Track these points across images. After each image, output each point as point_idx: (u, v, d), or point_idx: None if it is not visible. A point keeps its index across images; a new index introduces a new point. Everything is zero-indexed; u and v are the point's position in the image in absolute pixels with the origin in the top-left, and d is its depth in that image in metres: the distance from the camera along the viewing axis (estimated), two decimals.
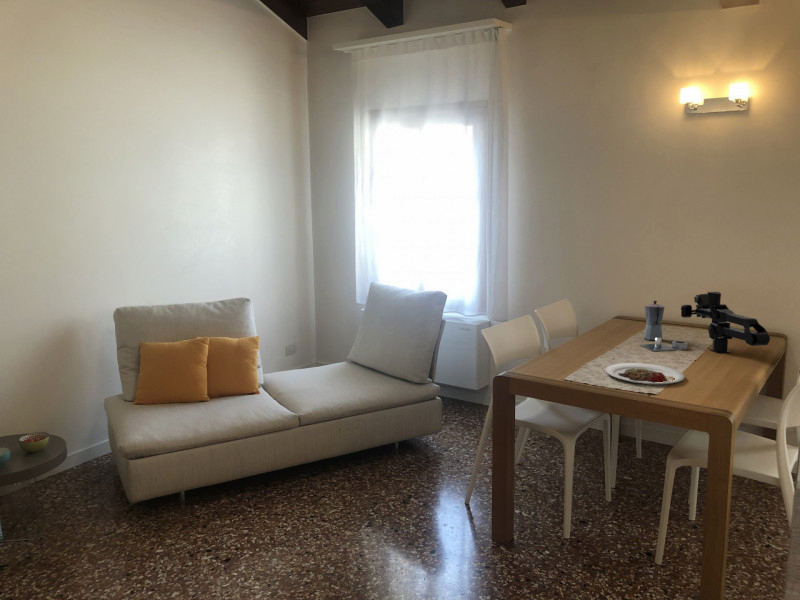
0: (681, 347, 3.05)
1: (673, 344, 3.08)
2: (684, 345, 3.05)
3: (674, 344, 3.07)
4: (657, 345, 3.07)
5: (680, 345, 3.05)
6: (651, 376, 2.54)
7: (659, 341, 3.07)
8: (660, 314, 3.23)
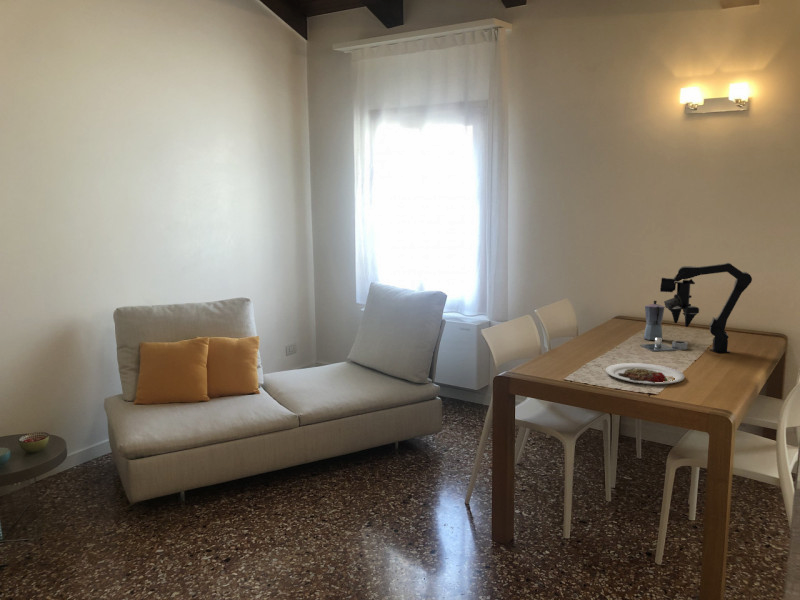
0: (681, 347, 3.05)
1: (673, 344, 3.08)
2: (684, 345, 3.05)
3: (674, 344, 3.07)
4: (657, 345, 3.07)
5: (680, 345, 3.05)
6: (651, 376, 2.54)
7: (659, 341, 3.07)
8: (660, 314, 3.23)
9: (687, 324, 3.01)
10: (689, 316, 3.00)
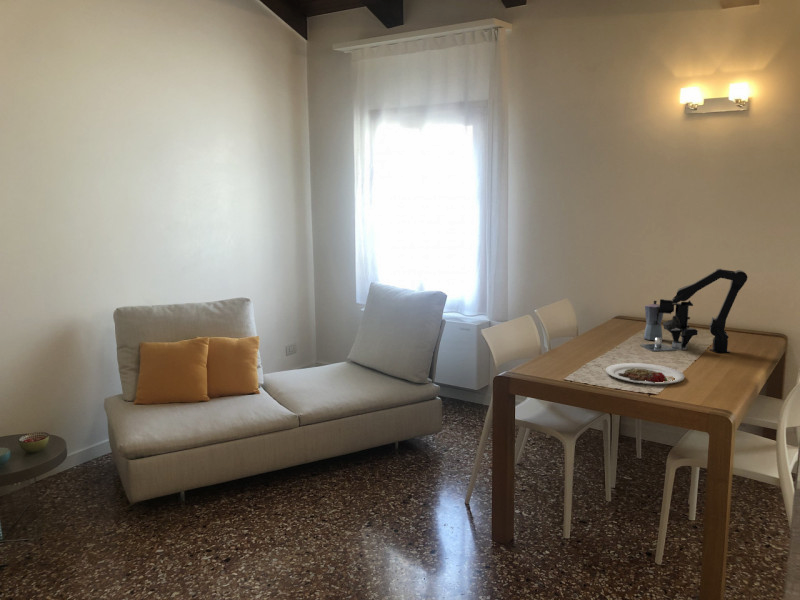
0: (681, 347, 3.05)
1: (673, 344, 3.08)
2: None
3: (674, 344, 3.07)
4: (657, 345, 3.07)
5: (680, 345, 3.05)
6: (651, 376, 2.54)
7: (659, 341, 3.07)
8: (660, 314, 3.23)
9: (684, 345, 3.04)
10: (686, 337, 3.03)
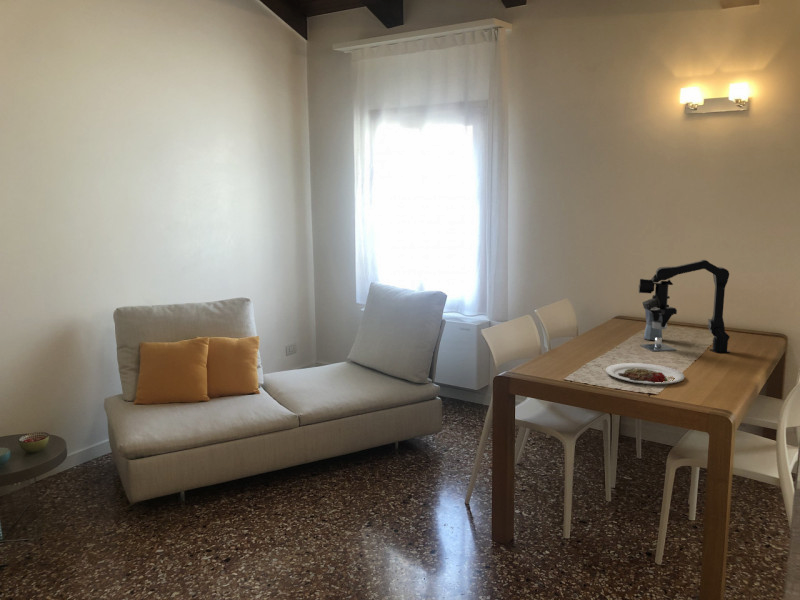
0: (661, 326, 3.04)
1: (653, 323, 3.07)
2: None
3: (654, 323, 3.06)
4: (657, 345, 3.07)
5: (660, 324, 3.04)
6: (651, 376, 2.54)
7: (659, 341, 3.07)
8: None
9: (663, 324, 3.03)
10: (665, 316, 3.02)
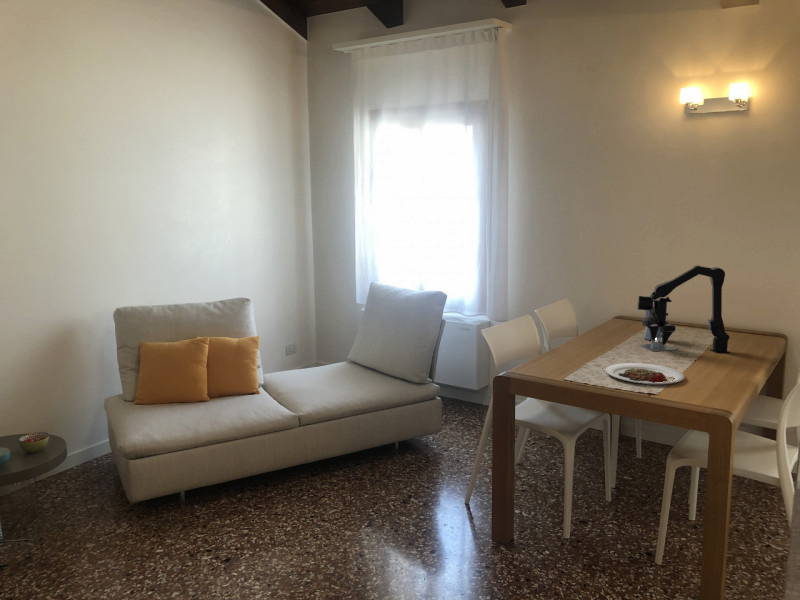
0: (659, 346, 3.06)
1: (651, 343, 3.08)
2: (662, 344, 3.06)
3: (652, 343, 3.07)
4: None
5: (659, 344, 3.05)
6: (651, 376, 2.54)
7: (659, 341, 3.07)
8: None
9: (664, 342, 3.03)
10: (666, 334, 3.02)
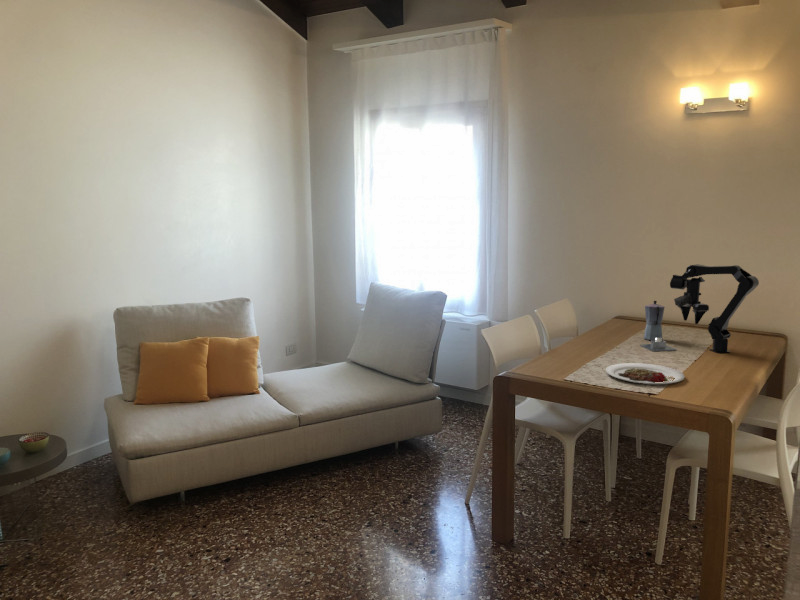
0: (659, 346, 3.06)
1: (651, 343, 3.08)
2: (662, 344, 3.06)
3: (652, 343, 3.07)
4: None
5: (659, 344, 3.05)
6: (651, 376, 2.54)
7: (659, 341, 3.07)
8: (660, 314, 3.23)
9: (697, 321, 3.05)
10: (699, 313, 3.04)
